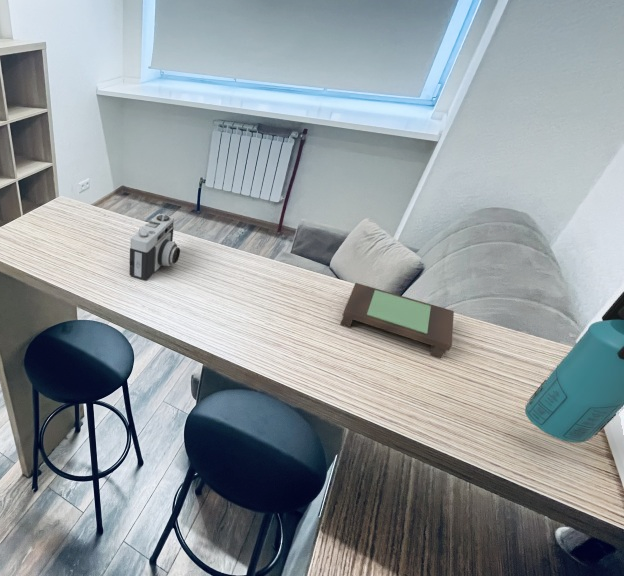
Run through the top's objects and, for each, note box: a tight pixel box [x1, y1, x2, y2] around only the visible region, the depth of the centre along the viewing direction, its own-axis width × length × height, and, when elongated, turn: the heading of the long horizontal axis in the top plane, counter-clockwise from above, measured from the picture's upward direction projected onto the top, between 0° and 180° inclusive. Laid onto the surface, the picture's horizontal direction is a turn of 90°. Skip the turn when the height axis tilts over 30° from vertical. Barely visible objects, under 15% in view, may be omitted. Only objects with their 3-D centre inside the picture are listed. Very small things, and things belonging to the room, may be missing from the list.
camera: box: [129, 213, 181, 281], centre depth 90 cm, size 14×8×10 cm, turn 149°
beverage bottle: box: [524, 307, 624, 444], centre depth 47 cm, size 6×7×20 cm
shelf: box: [340, 282, 455, 359], centre depth 74 cm, size 16×11×4 cm
